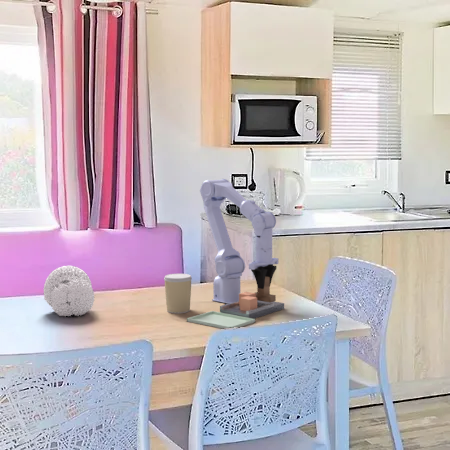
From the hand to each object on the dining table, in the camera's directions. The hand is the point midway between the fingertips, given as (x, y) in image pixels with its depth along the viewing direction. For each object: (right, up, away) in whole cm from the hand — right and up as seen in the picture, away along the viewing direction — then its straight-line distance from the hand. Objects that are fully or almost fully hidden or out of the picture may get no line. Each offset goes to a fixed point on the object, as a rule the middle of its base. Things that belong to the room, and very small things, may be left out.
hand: (263, 287), depth 256 cm
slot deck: (-4, -8, -4) cm, 10 cm away
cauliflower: (-64, -9, -4) cm, 65 cm away
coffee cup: (-29, -8, -1) cm, 30 cm away
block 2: (-6, -7, -9) cm, 13 cm away
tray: (-15, -10, -17) cm, 24 cm away
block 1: (-6, -6, -3) cm, 9 cm away
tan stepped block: (0, -4, +1) cm, 4 cm away
